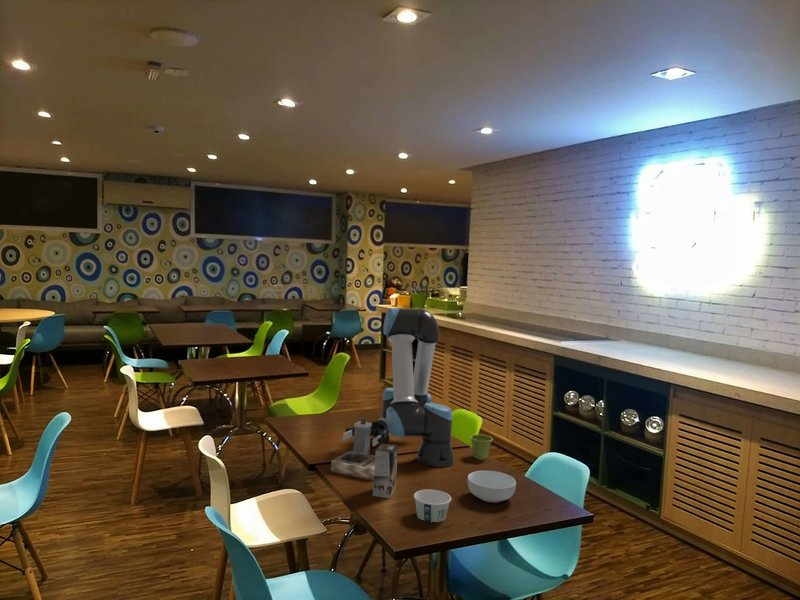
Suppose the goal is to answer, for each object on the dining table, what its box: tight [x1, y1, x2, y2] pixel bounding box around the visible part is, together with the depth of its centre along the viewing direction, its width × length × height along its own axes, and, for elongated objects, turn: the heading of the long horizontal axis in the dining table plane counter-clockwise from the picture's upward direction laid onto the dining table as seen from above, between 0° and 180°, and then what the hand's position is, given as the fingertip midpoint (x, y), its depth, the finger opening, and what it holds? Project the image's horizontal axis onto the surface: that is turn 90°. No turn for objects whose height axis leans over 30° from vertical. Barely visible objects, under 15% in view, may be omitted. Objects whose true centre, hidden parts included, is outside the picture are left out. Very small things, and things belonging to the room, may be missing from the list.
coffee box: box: [372, 443, 399, 499], centre depth 207 cm, size 9×6×16 cm
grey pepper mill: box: [352, 417, 372, 455], centre depth 244 cm, size 5×5×16 cm
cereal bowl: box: [466, 470, 517, 504], centre depth 208 cm, size 17×17×7 cm
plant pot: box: [469, 434, 494, 461], centre depth 252 cm, size 9×9×9 cm
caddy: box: [330, 450, 375, 482], centre depth 229 cm, size 18×15×4 cm
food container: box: [413, 489, 452, 523], centre depth 190 cm, size 12×12×6 cm
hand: (358, 439), depth 241 cm, fingers open, 13 cm apart
